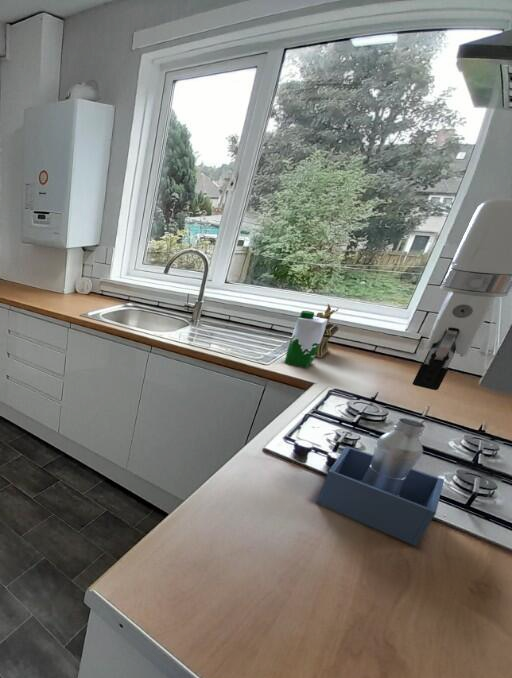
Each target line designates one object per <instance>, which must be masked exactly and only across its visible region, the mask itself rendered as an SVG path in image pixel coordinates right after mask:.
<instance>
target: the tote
mask: <svg viewBox="0 0 512 678" xmlns="http://www.w3.org/2000/svg"><path fill="white" fill-rule="evenodd" d="M373 455H374V454H371V453H369V452H366V451H362V450H361V449H357V448H354V447H351V446H348V445H346V446H345V447H344V449H343V450H342V452H341V453H340V455H339V456H338V457H337V459H336V460H335V462H333V464H332V466H331V467H330V468H329V471H328V473H327V474H326V476H325V479H324V482H323V484H322V486H321V489H320V491H319V493H318V496H317V498H316V500H315V503H316V504H318V505H321V506H323V507H325V508H328V509H330V510H332V511H334V512H336V513H339V514H340V515H343V516H345V517H348V518H350V519H353V520H354V521H357V522H359V523H361V524H364V525H366V526H368V527H371V528H373V529H375V530H377V531H380V532H382V533H384V534H386V535H389V536H391V537H393V538H395V539H398V540H400V541H402V542H405V543H407V544H409V545H411V546H414V547H417V546H418V544H419V542H420V541H421V539H422V538H423V536H424V534H425V533H426V531H427V529H428V527H429V526H430V524H431V522H432V520H433V519H434V517H435V516H436V514H437V511H438V506H439V501H440V498H441V495H442V490H443V486H444V483H445V478H441V477H439V476H435V475H433V474H430V473H427V472H424V471H421V470H418V469H415V468H412V469H411V470H410V472H409V473H408V475H407V476H406V478H405V480H404V482H403V484H402V487H401V490H400V493H399V496H396V495H394V494H391V493H389V492H386V491H383V490H381V489H378V488H376V487H373V486H370V485H368V484H365V483H363V482H360V481H362V479H363V477H364V476H365V474H366V472H367V471H368V469H369V467H370V464H371V461H372V458H373Z"/></svg>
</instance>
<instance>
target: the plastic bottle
mask: <svg viewBox="0 0 512 678" xmlns="http://www.w3.org/2000/svg"><path fill="white" fill-rule="evenodd" d="M425 428H426V425H425V424H424V423H422V422H421V421H418V420H414V419H412V418H405V417H403V418H402V417H401V418H399V419H398V420H397V421H396V423H395V424H394V426H393V429H394V430H391V431H388V432H386V433H384V434H382V435H380V436H379V437H378V438H377V440H376V442H375V446H374V451H373V454H372V455H373V458H372V461H371V464H370V467H369V469H368V471H367V472H366V474H365V476H364V477H363V479H362V481H360V482H363V483H365V484H368V485H370V486H373V487H376V488H378V489H381V490H383V491H386V492H389V493H391V494H394V495H396V496H399V493H400V490H401V487H402V484H403V482H404V480H405V478H406V476H407V475H408V473H409V472H410V470H411V469H413V467H415V465H416V464H417V462H418V461H419V460H420V459H421V458H422V456H423V454H424V448H423V445H422V442H421V440H420V438H419V437H421V436H423V432H424V430H425Z"/></svg>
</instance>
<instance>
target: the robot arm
mask: <svg viewBox="0 0 512 678" xmlns="http://www.w3.org/2000/svg"><path fill="white" fill-rule="evenodd" d="M439 289H440V290H443V291H446V292H447V294H446V296H445V299H444V301H443V302H442V305H441V307H440V309H439V312H438V314H437V317H436V318H435V321H434V323H433V326H432V329H431V331H430V335H429V337H428V340H427V344H426V349H427V350H428V352H427V354H426V355H425V358H424V360H423V362H422V363H421V364H420V367H419V369H418V371H417V373H416V375H415V376H414V379H413V381H412V385H413V386H416V387H419V388H424V389H428V390H432V391H438V390H440V389H439V388H440V387H441V385H442V383H443V381H444V379H445V377H446V375H447V374H448V372H449V366H450V363H451V362H452V359H453V358H454V356H455V354H457V355H459V357H466V356H468V354H469V351H470V350H471V348H472V345H473V343H474V342H475V340H476V339H477V336H478V334H479V332H480V330H481V328H482V327H483V325H484V323H485V321H486V320H487V318H488V315H489V313H490V311H491V309H492V306H493V304H494V301H495V299H496V297H497V298H499V297H500V298H503V297H507V296H508V294H509V293H510V290H511V289H512V198H492V199H488V200H486V201H485V200H484V201H483V202H482V203H480V205H478V206H477V208H476V209H475V212H474V213H473V214H472V218H471V220H470V222H469V224H468V226H467V228H466V231H465V233H464V235H463V237H462V239H461V241H460V243H459V246H458V248H457V250H456V252H455V254H454V256H453V259H452V260H451V263H450V265H449V267H448V269H447V272H446V273H445V276H444V278H443V280H442V282H441V284H440V286H439Z"/></svg>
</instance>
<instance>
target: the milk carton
mask: <svg viewBox="0 0 512 678" xmlns="http://www.w3.org/2000/svg"><path fill="white" fill-rule="evenodd" d="M314 315H315V312H313V311H309V310H302V311H301V312H300V314H299V317H298V318H297V320H296V321H295V322H296V323H295V326H294V328H293V331H292V335H291V338H290V341H289V344H288V347H287V351H286V355H285V360H284V363H285V364H289V365H292V366H296V367H300V368H304V369H306V368H308V367H309V366H310V365H311V364H312V362H313V360H314V359H315V358H316V357H315V355H316V353H317V351H318V348H319V345H320V342H321V340H322V337H323V334H324V331H325V327H326V324H327V320H328V319H323V318H319V317H316V316H314Z"/></svg>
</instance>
